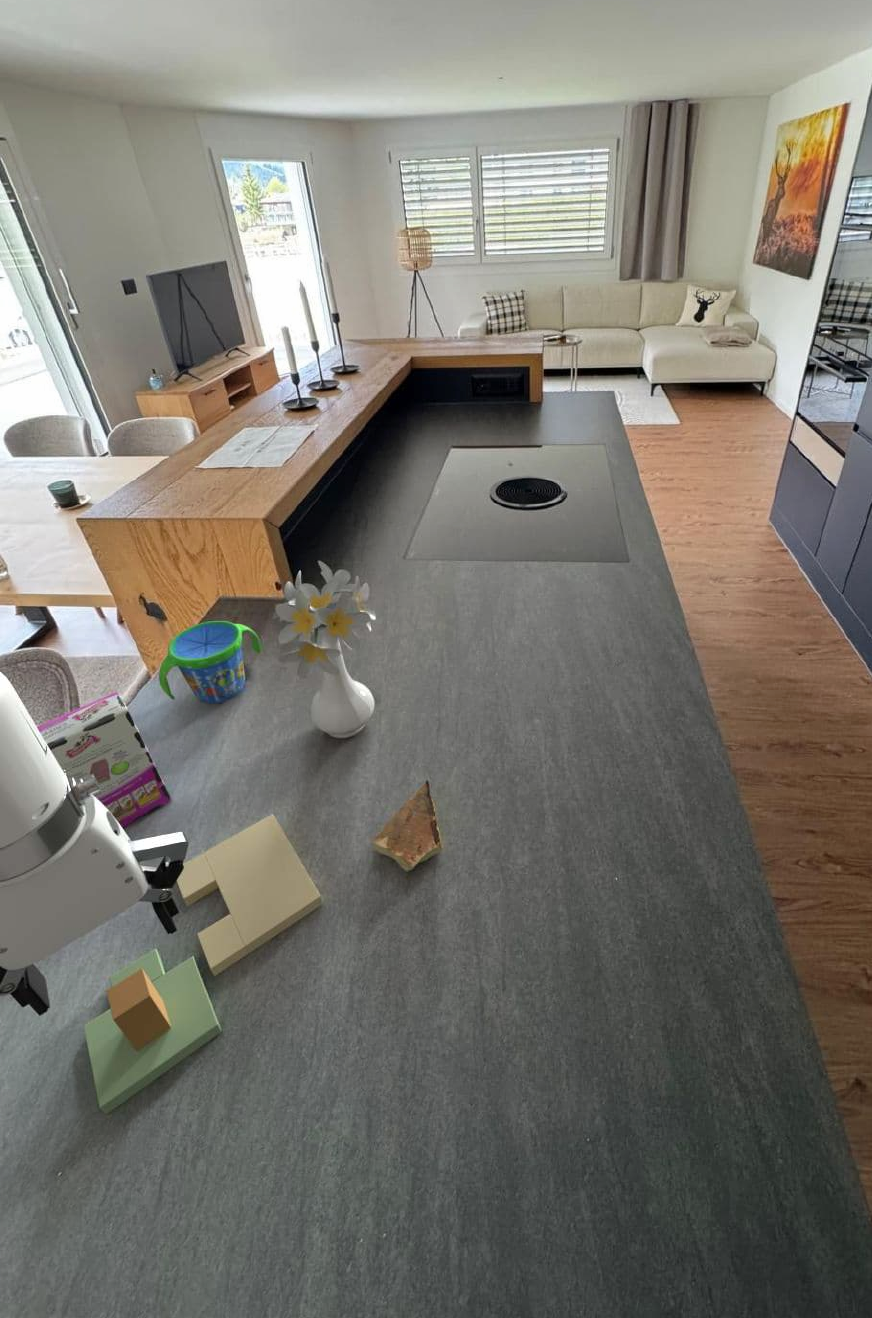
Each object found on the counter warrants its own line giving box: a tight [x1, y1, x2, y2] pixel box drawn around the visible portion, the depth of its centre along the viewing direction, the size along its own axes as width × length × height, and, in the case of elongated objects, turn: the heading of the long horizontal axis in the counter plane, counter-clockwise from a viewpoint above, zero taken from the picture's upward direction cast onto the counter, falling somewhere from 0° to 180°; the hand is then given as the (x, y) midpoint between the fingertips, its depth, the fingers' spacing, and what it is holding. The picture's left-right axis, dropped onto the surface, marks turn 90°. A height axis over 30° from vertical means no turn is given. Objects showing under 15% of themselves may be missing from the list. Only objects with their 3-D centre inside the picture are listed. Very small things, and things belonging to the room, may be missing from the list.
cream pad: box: [176, 813, 324, 977], centre depth 70 cm, size 12×14×2 cm
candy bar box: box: [36, 690, 172, 829], centre depth 76 cm, size 11×5×16 cm, turn 131°
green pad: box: [83, 948, 223, 1115], centre depth 58 cm, size 11×10×8 cm
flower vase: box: [272, 560, 377, 739], centre depth 86 cm, size 13×18×25 cm
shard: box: [372, 779, 444, 872], centre depth 76 cm, size 11×8×2 cm
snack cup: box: [158, 620, 262, 704], centre depth 98 cm, size 16×10×10 cm
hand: (109, 957), depth 52 cm, fingers open, 9 cm apart
